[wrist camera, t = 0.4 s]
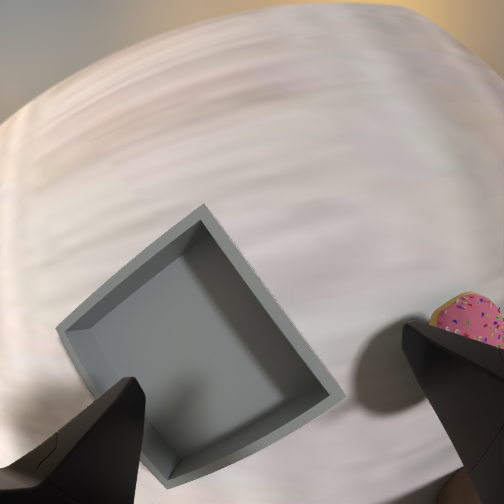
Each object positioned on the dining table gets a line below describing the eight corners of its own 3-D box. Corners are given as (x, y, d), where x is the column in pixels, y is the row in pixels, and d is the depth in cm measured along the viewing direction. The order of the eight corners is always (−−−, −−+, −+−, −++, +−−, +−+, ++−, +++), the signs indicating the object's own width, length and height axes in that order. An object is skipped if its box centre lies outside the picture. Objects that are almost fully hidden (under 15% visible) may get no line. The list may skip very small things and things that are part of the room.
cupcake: (427, 406, 19) (505, 459, 8) (377, 346, 21) (459, 384, 9) (484, 337, 20) (574, 348, 8) (442, 274, 21) (538, 253, 9)
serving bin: (334, 378, 21) (346, 396, 16) (183, 464, 21) (167, 489, 16) (217, 220, 24) (203, 203, 19) (85, 325, 23) (55, 327, 19)
